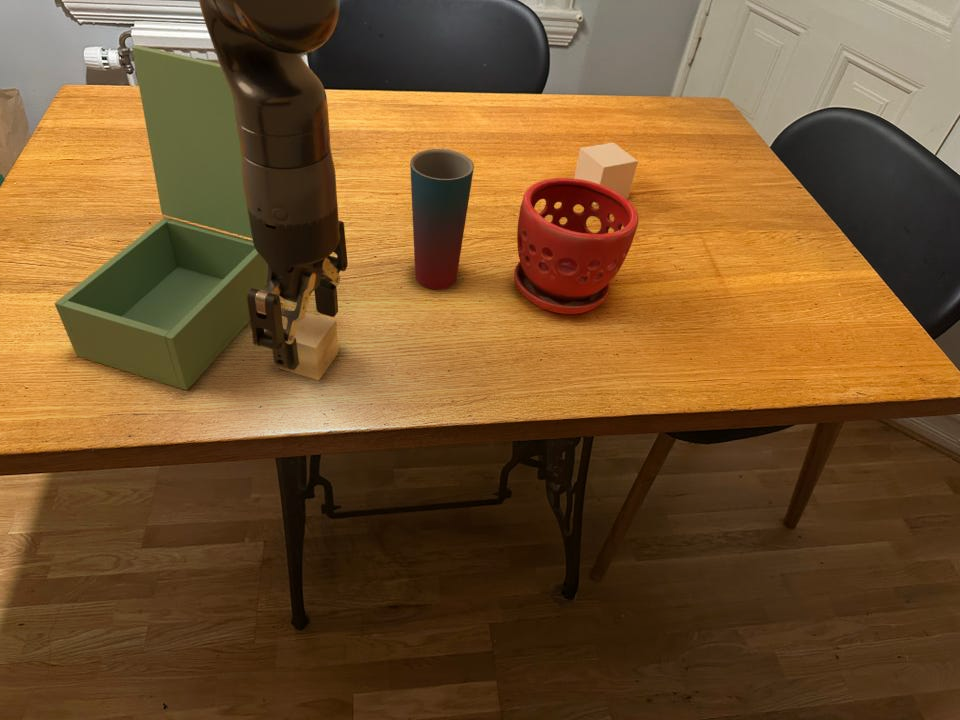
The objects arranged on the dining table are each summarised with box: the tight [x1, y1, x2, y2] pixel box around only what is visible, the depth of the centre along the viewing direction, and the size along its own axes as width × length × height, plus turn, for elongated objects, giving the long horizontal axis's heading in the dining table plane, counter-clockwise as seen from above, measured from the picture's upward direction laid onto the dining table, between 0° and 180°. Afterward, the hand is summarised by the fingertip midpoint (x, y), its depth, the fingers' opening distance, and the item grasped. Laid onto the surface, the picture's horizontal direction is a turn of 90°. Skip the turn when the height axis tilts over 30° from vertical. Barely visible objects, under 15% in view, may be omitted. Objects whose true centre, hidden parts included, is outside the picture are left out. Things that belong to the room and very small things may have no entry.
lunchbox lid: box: [131, 44, 252, 239], centre depth 72 cm, size 17×13×5 cm
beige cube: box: [573, 142, 639, 206], centre depth 101 cm, size 6×6×6 cm
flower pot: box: [513, 177, 640, 315], centre depth 81 cm, size 13×13×12 cm
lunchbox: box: [54, 216, 268, 391], centre depth 72 cm, size 17×13×7 cm
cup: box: [409, 148, 475, 290], centre depth 79 cm, size 7×7×15 cm
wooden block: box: [278, 311, 339, 381], centre depth 71 cm, size 4×4×4 cm
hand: (308, 338), depth 70 cm, fingers open, 8 cm apart
